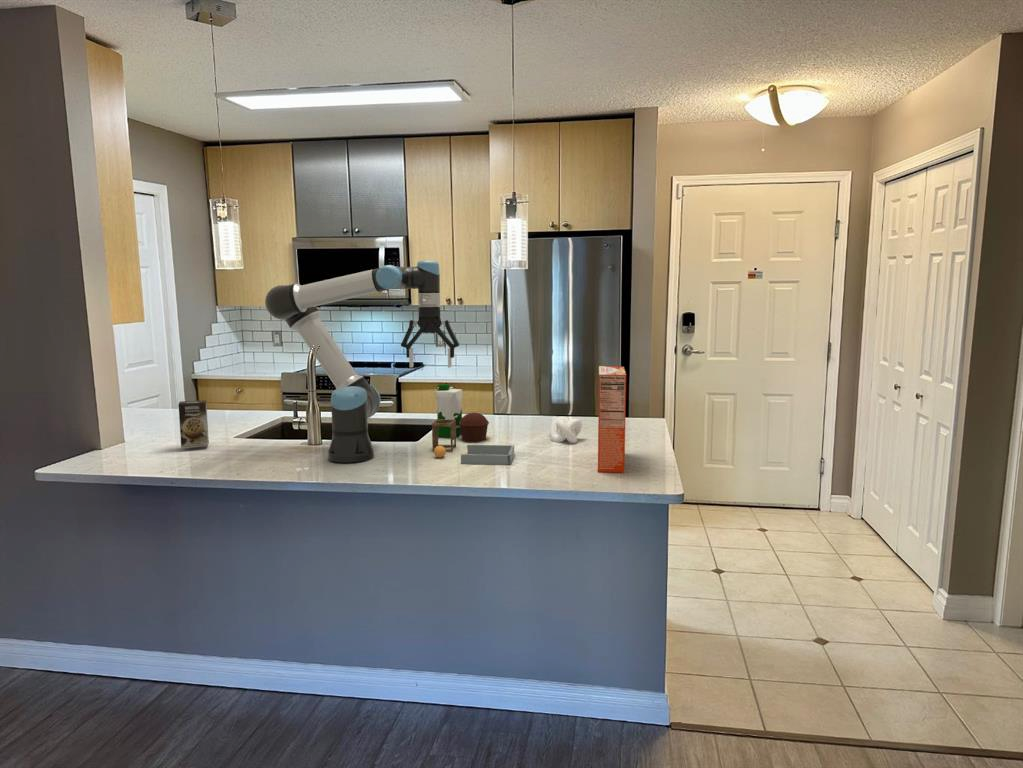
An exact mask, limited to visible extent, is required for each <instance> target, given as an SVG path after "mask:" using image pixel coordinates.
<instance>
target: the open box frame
mask: <svg viewBox="0 0 1023 768" xmlns="http://www.w3.org/2000/svg"><path fill="white" fill-rule="evenodd" d="M438 426H450V433H451V438H450V444H439V438H438ZM431 435H432V438H431V440H432V442H431V443H432V452H433V453H434V449H435V448H436V447H437V446H443V447H444V448H445V450H446V453H453V451H454V449H455V448H457V438H456V420H442V419H437V418H436V419H435V420H434V421H432V423H431Z"/></svg>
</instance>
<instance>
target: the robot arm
mask: <svg viewBox="0 0 1023 768" xmlns="http://www.w3.org/2000/svg"><path fill="white" fill-rule="evenodd" d="M416 263H417V265H416V266H398V265H396V266H395V265H392V264H386V265H383V266H381V267H378V268H374V269H373V268H372V269H370V270H369V269H368V270H363V271H360V272H356V273H351V274H346V275H343V276H337V277H333V278H330V279H323V280H320V281H315V282H311V283H307V284H303V285H301V284H299V283H293V284H292V283H291V284H287V285H282V284H281V285H276V286H274V287H272V288H271V289H270V290H269V291H268V292H267V293H266V296H265V299H264V306H265V308H266V310H267V312H268V313H269V314H270V315H271V316H272V317H273V318H275V319H278V320H283V321H285V323H287V325H288V327H289V328H290V330H292V331H297V332H298V333H299V335H300V336H301V338H302V339H303V342H305V344H306V345H307V347H308V348H309V350H310V351H311V350H312V351H311V353H312V355H313V356H314V357H315V355H316V357H315V359H316V360H317V361H318V363H319V364H320V366H321V367H322V369H323V371H325V373H326V375H327V377H328V378H329V379H330V382H332V384H333V385H334V387H335V390H333V391H332V392H331V396H330V405H331V407H330V408H331V424H332V425H331V426H332V427H331V428H332V436H331V441H330V445H329V448H328V452H327V457H328V460H329V461H331V462H335V463H357V462H363V461H369V460H371V459H372V458H374V457H375V450H374V447H373V443H372V441H371V438H370V437H369V429H368V427H369V425H368V424H369V423H368V419H369V418H371V417H373V416H375V414H376V413H377V412H378V410H379V408H380V406H381V394H380V393H379V391H378V389H376V387H374V386H372V385H370V384H369V382H368V381H367V380H366V378H365V377H364V376H363V375H360V374H357V373H356V371H355V369H354V368H353V367H352V365H351V363H350V362H349V360H348V359H347V358H346V356H345V355H344V353H343V351H342V350H341V349H340V347H339V345H337V343H336V341H335V340H334V338H333V337H332V336H331V334H330V332H329V330H328V329H327V328H326V326H325V325H324V323H323V322H322V321H321V319H320V316H321V315H320V313H321V311H320V310H319V308H318V307H319V306H323V305H327V304H331V303H336V302H340V301H344V300H348V299H353V298H359V297H362V296H365V295H370V294H375V293H379V292H385V291H389V290H409V289H410V290H411V289H412V290H417V299H418V302H417V304H418V305H419V306H418V308H417V309H418V320H414V319H410V321H409V324H408V325H409V326H408V328H407V331H406V332H405V335H404V337H403V339H402V341H401V344H400V347H403V348H405V350H406V351H405V352H406V358H408V359H409V360H408V362H409V368H413V367H414V348H411V347H412V346H414V344H415V343H416V342H417V340H418V339H419V338H420V336H422V334H423V333H424V334H429V333H430V334H437V335H439V337H440V338H441V339H442V340H443V341H444V343H445V344H446V345H447V346H448V348H447V368H449V369H450V368H453V367H452V366H453V364H452V359H453V358H455V348H457V347H459V346H460V342H459V340H458V339H457V337H456V334H455V332H454V331H453V329H452V327H451V322H450V321H451V320H449V319H446V320H442V318H441V307H440V306H441V291H440V290H441V283H440V281H441V278H440V277H441V274H440V264H439V262H438V261H436V260H419V261H417V262H416ZM442 325H443V327H445V328H446V332H447V333H448V335H449V337H450V339H451V340H452V341H451V340H450V339H449V338H448V337H447V336H446V334H445V333H444V331H443V330H442V329H441V326H442ZM417 326H418V327H419V329H418V331H417V332H416V333H415V334H414V336H413V337H412V338H411V339H410V337H411V335H412V333H413V330H414V328H415V327H417ZM409 339H410V340H409ZM408 341H409V342H408ZM313 345H314V346H313ZM319 346H320V347H319ZM312 348H313V349H312ZM314 348H315V349H314ZM318 348H319V349H318ZM317 349H318V351H317ZM314 350H315V351H314ZM316 352H317V354H316Z"/></svg>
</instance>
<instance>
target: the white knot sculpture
mask: <svg viewBox="0 0 1023 768" xmlns="http://www.w3.org/2000/svg"><path fill="white" fill-rule="evenodd" d="M582 427H583V423H582V421H581V419H579V418H573V419H571V420H570V419H569V418H568V417H566V416H557V418H555V419H554V420H553V421H552V423H551V424H550V427H549V438H550V440H551V441H552V442H553V443H564V442H565V441H566V440H567V441H568V442H569V443H570V444H576V443H577V442H578V435H579V434H580V433H581V430H582Z"/></svg>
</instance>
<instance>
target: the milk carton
mask: <svg viewBox="0 0 1023 768" xmlns="http://www.w3.org/2000/svg"><path fill="white" fill-rule="evenodd" d="M435 396H436V397H435V398H436V415H437V418H436V419H442V420H456V439H457V438H458V437H460V436H462V434H461V428H460V425H459V422H460V420H461V419H462V417H463V402H462V401H463V389H461V388H460V389H457V388H450V384H449V383H439V384H438V389H437V390H436V391H435ZM438 439H451V433H450V426H438Z"/></svg>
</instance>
